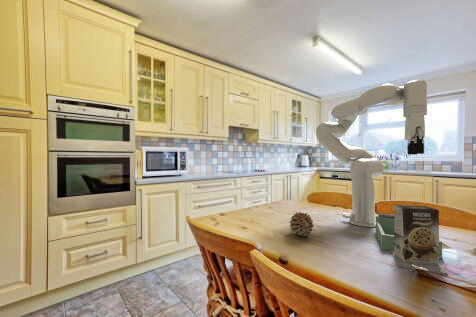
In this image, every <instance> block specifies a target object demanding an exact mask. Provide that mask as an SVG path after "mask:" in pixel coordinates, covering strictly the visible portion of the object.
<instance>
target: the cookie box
mask: <svg viewBox="0 0 476 317" xmlns="http://www.w3.org/2000/svg"><path fill="white" fill-rule="evenodd" d="M439 211H440V210H439V209H438V208H433V207H429V206H427V205H408V204H406V205H404V204H394V215H395V224H394V225H395V231H394V254H395V255H396V256H397V257H398V258H399V259H401V260H402V261H403V262H405V263H415V264H427V265H439V264H440V258H439V240H440V219H439V218H440V212H439Z"/></svg>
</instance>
